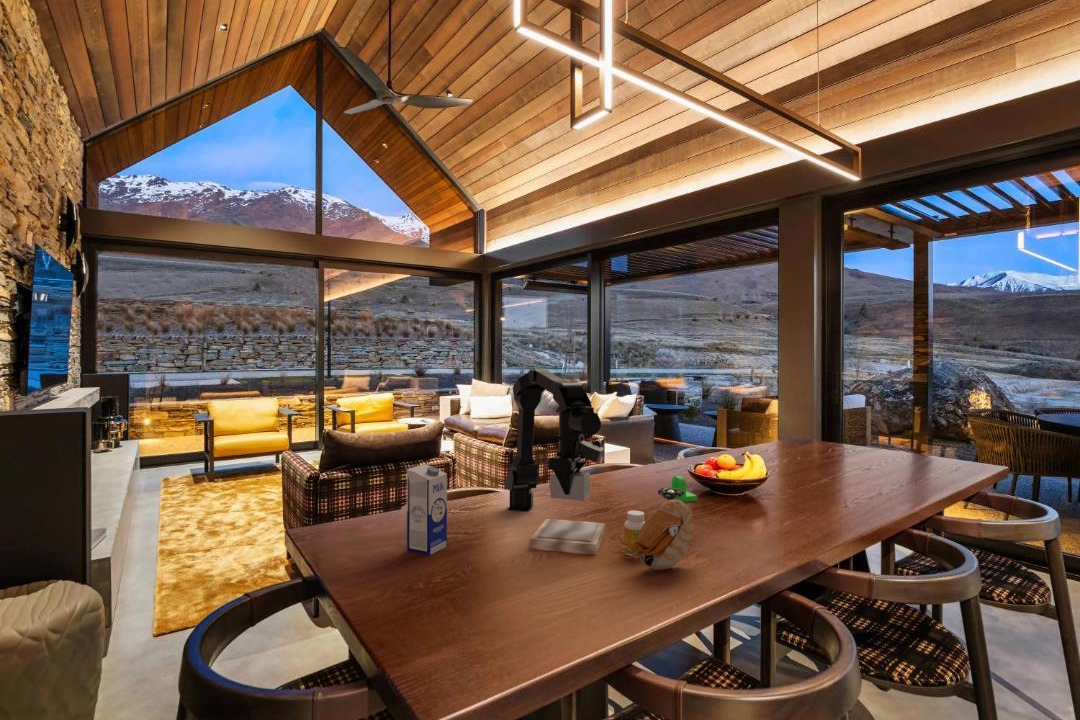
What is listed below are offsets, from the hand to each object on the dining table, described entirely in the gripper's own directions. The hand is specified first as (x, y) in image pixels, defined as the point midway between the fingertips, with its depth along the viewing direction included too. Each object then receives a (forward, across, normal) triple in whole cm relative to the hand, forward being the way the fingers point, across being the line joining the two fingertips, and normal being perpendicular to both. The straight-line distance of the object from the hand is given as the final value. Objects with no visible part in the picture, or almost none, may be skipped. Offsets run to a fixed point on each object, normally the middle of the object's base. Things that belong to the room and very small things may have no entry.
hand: (570, 492), depth 140 cm
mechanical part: (+12, +52, -21) cm, 58 cm away
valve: (+12, +11, -24) cm, 29 cm away
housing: (+1, 0, 0) cm, 1 cm away
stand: (+12, -2, 0) cm, 12 cm away
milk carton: (+12, -20, +30) cm, 38 cm away
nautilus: (+12, -14, -24) cm, 30 cm away
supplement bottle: (+12, -5, -18) cm, 22 cm away
